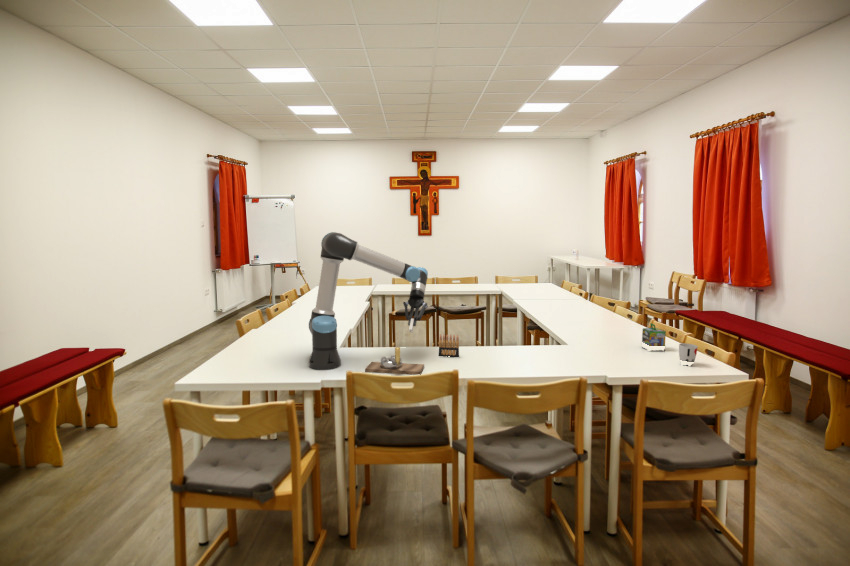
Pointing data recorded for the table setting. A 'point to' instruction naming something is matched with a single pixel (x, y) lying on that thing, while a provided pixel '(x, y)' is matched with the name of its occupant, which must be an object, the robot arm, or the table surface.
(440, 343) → the ammunition clip
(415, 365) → the base plate
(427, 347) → the table surface
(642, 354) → the table surface
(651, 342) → the lunch box
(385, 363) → the silver teapot
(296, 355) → the table surface
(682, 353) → the cup
